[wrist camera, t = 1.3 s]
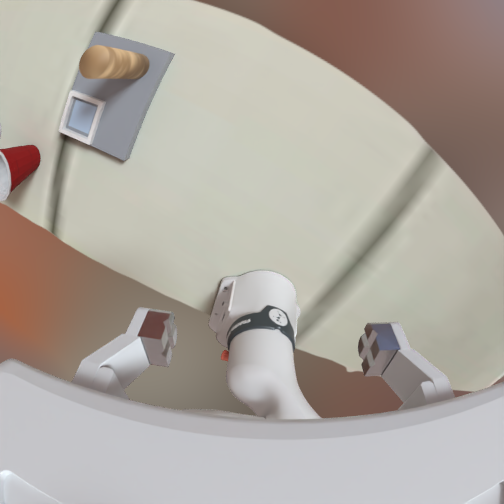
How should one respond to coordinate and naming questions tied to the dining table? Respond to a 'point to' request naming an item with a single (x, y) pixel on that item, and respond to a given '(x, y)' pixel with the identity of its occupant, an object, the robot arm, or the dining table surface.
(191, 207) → the dining table surface
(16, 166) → the plastic cup
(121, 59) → the oak column
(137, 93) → the board
